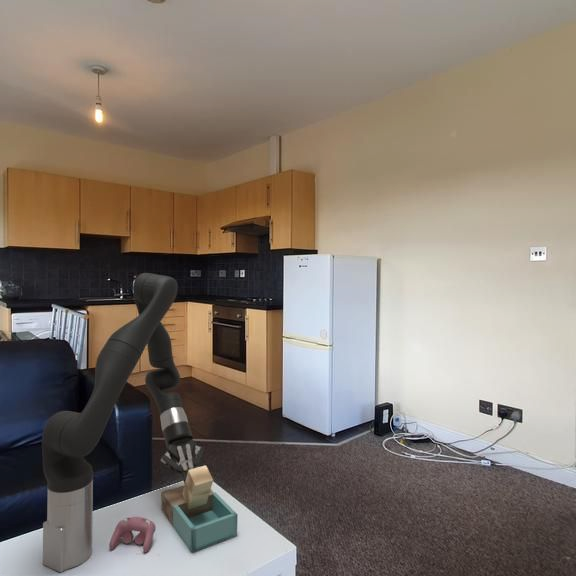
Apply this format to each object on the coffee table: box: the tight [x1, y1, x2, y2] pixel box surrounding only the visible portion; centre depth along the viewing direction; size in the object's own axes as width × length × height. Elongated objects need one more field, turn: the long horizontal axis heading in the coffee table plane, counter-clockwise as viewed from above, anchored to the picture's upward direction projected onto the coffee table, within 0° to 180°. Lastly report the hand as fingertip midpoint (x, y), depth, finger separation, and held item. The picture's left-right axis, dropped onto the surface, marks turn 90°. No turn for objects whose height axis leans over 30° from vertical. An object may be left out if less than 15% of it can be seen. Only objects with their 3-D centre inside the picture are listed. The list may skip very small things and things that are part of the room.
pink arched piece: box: [108, 516, 157, 553], centre depth 101 cm, size 10×5×7 cm, turn 85°
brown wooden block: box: [160, 485, 215, 527], centre depth 115 cm, size 9×12×5 cm
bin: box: [172, 491, 238, 554], centre depth 106 cm, size 13×12×6 cm
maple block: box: [182, 465, 214, 509], centre depth 110 cm, size 5×5×9 cm
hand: (191, 484), depth 113 cm, fingers closed
